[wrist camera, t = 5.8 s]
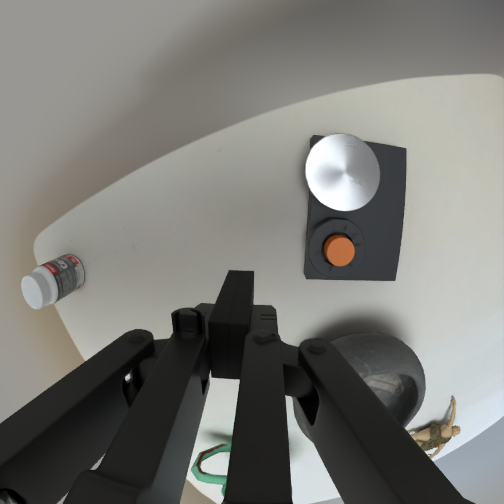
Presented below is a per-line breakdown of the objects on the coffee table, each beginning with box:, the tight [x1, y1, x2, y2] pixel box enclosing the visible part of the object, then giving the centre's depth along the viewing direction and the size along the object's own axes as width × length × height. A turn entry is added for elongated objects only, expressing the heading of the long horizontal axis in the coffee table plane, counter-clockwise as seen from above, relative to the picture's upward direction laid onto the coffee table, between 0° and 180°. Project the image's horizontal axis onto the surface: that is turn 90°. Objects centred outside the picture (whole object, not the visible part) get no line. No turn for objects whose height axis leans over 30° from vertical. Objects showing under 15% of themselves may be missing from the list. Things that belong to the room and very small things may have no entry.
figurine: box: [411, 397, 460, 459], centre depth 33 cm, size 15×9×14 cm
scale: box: [304, 135, 406, 281], centre depth 25 cm, size 14×10×4 cm
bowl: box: [293, 332, 426, 442], centre depth 26 cm, size 15×15×10 cm
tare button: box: [324, 235, 355, 266], centre depth 24 cm, size 3×3×2 cm
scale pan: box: [305, 133, 380, 211], centre depth 22 cm, size 7×7×1 cm
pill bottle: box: [21, 254, 84, 310], centre depth 26 cm, size 5×5×8 cm
